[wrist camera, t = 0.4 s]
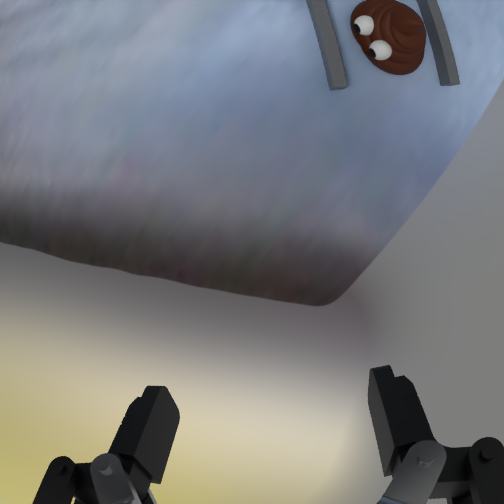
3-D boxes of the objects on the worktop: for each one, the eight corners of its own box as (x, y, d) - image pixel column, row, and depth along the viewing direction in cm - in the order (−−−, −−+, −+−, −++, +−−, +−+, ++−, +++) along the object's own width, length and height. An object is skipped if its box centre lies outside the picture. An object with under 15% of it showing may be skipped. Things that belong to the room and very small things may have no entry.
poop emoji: (430, 65, 27) (470, 52, 18) (375, 86, 29) (407, 74, 20) (389, -3, 24) (417, -33, 15) (331, 15, 26) (348, -18, 18)
